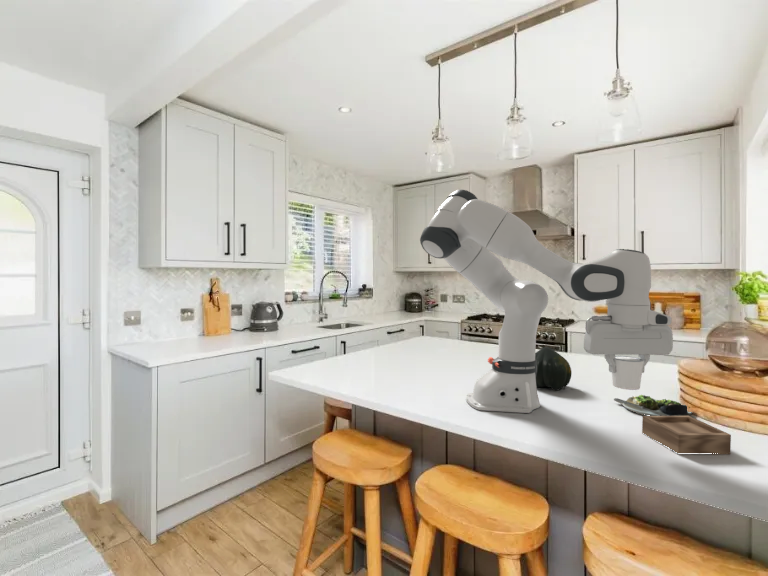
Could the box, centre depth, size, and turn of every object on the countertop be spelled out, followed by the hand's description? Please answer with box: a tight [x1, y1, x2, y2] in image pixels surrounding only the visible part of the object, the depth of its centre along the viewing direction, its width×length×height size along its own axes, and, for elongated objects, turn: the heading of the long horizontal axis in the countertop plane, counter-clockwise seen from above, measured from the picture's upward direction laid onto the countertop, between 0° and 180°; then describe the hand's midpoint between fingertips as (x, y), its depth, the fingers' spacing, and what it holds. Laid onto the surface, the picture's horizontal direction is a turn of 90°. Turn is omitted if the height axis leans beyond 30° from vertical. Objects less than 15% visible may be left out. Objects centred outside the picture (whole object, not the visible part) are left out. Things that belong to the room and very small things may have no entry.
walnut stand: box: [641, 415, 732, 455], centre depth 95 cm, size 12×12×4 cm
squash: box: [535, 345, 572, 391], centre depth 142 cm, size 14×15×15 cm
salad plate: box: [613, 394, 693, 417], centre depth 118 cm, size 19×18×5 cm
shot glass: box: [611, 355, 644, 391], centre depth 96 cm, size 7×7×7 cm
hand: (626, 372), depth 96 cm, fingers closed on shot glass, 5 cm apart
